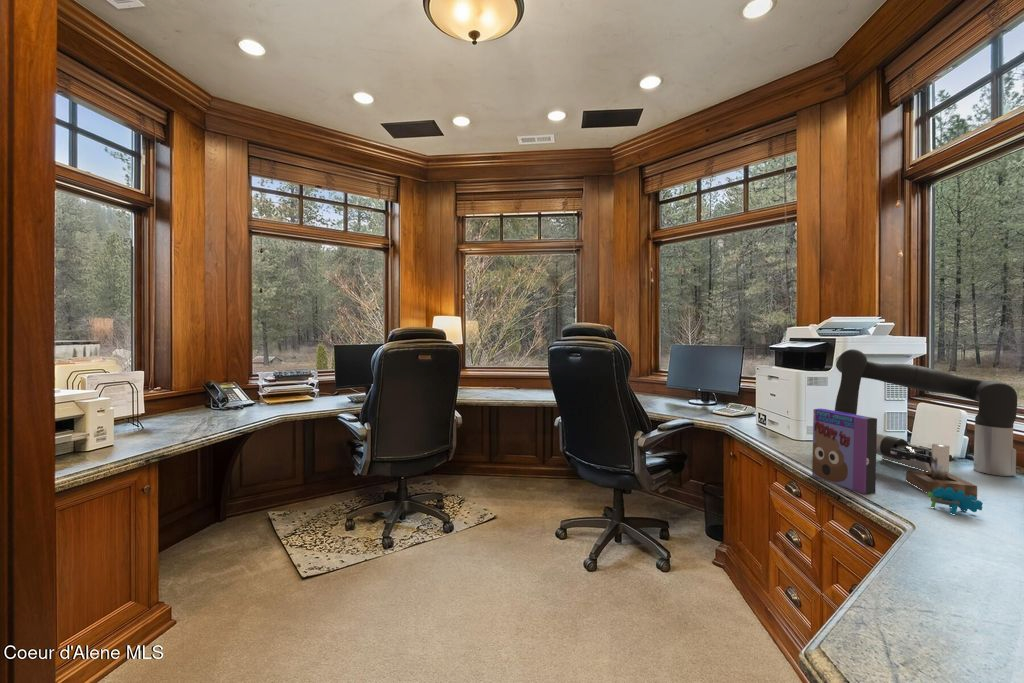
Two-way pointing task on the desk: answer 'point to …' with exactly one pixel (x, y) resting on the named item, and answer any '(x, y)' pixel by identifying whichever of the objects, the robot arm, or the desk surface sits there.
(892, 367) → the robot arm
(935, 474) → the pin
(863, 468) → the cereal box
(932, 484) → the socket block
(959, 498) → the toy stegosaurus
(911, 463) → the grey curved block
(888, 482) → the desk surface
